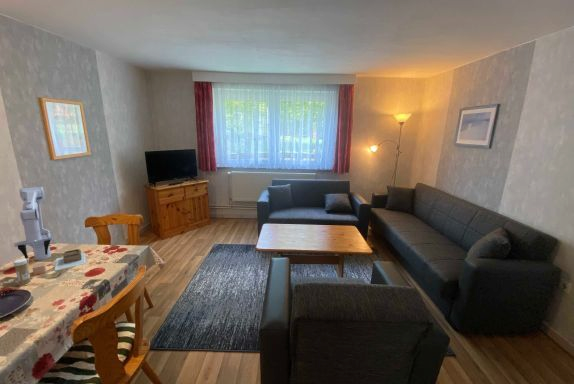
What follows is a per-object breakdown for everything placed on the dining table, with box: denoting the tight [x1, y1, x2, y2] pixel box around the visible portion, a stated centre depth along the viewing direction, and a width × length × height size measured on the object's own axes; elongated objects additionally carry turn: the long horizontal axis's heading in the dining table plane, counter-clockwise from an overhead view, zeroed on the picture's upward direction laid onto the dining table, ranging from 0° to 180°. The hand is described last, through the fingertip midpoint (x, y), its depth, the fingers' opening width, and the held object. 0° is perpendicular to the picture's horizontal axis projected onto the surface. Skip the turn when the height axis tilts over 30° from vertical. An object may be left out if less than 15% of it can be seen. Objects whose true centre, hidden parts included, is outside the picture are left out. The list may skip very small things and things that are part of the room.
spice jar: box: [13, 258, 31, 287], centre depth 127 cm, size 5×5×13 cm
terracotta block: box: [32, 262, 47, 276], centre depth 138 cm, size 5×5×5 cm
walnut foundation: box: [62, 248, 82, 263], centre depth 153 cm, size 8×8×4 cm
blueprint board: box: [54, 252, 87, 271], centre depth 151 cm, size 17×14×1 cm
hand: (36, 256), depth 136 cm, fingers open, 7 cm apart
